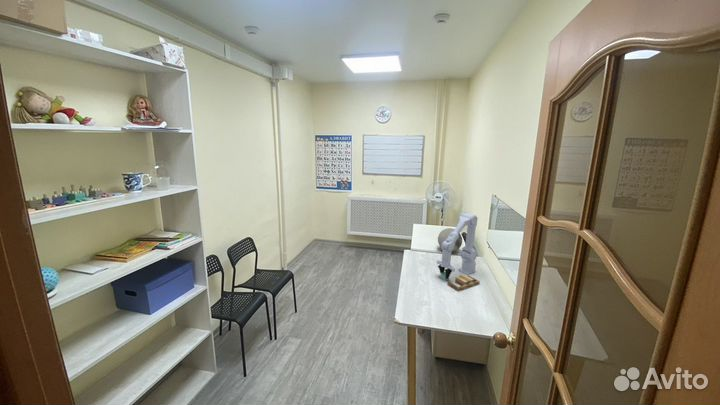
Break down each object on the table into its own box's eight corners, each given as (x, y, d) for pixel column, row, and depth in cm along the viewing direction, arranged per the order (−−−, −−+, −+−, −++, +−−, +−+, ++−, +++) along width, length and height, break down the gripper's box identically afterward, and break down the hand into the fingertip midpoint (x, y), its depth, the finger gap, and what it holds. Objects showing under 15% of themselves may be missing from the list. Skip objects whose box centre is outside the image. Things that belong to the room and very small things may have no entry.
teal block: (444, 276, 189) (444, 271, 189) (448, 279, 186) (449, 274, 185) (440, 278, 187) (440, 272, 187) (444, 280, 184) (445, 275, 183)
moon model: (436, 253, 229) (438, 231, 225) (437, 245, 248) (438, 224, 244) (461, 256, 224) (464, 233, 220) (460, 248, 243) (462, 226, 238)
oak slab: (463, 278, 189) (463, 274, 188) (473, 283, 182) (473, 279, 181) (455, 281, 185) (455, 277, 184) (464, 286, 178) (465, 282, 177)
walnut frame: (468, 278, 188) (468, 275, 188) (479, 284, 180) (479, 281, 180) (447, 285, 179) (447, 282, 178) (458, 291, 171) (458, 288, 170)
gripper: (434, 255, 188) (432, 273, 191) (450, 263, 175) (448, 283, 178) (441, 253, 191) (440, 271, 194) (457, 261, 179) (456, 280, 182)
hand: (444, 276), depth 186 cm, fingers closed on teal block, 4 cm apart
